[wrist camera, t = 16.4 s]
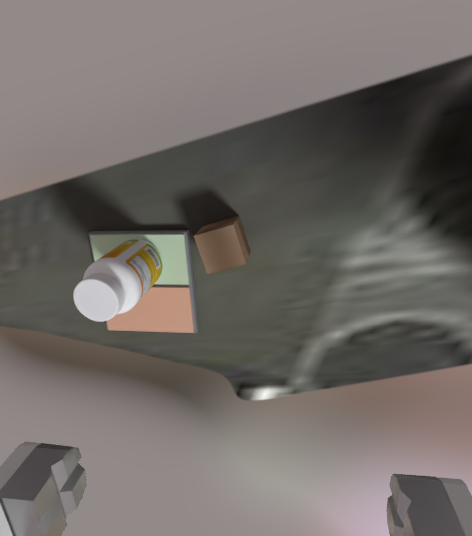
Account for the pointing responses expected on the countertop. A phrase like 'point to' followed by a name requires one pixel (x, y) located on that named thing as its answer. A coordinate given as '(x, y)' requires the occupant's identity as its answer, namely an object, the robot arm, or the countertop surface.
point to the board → (157, 283)
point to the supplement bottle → (118, 280)
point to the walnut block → (222, 245)
